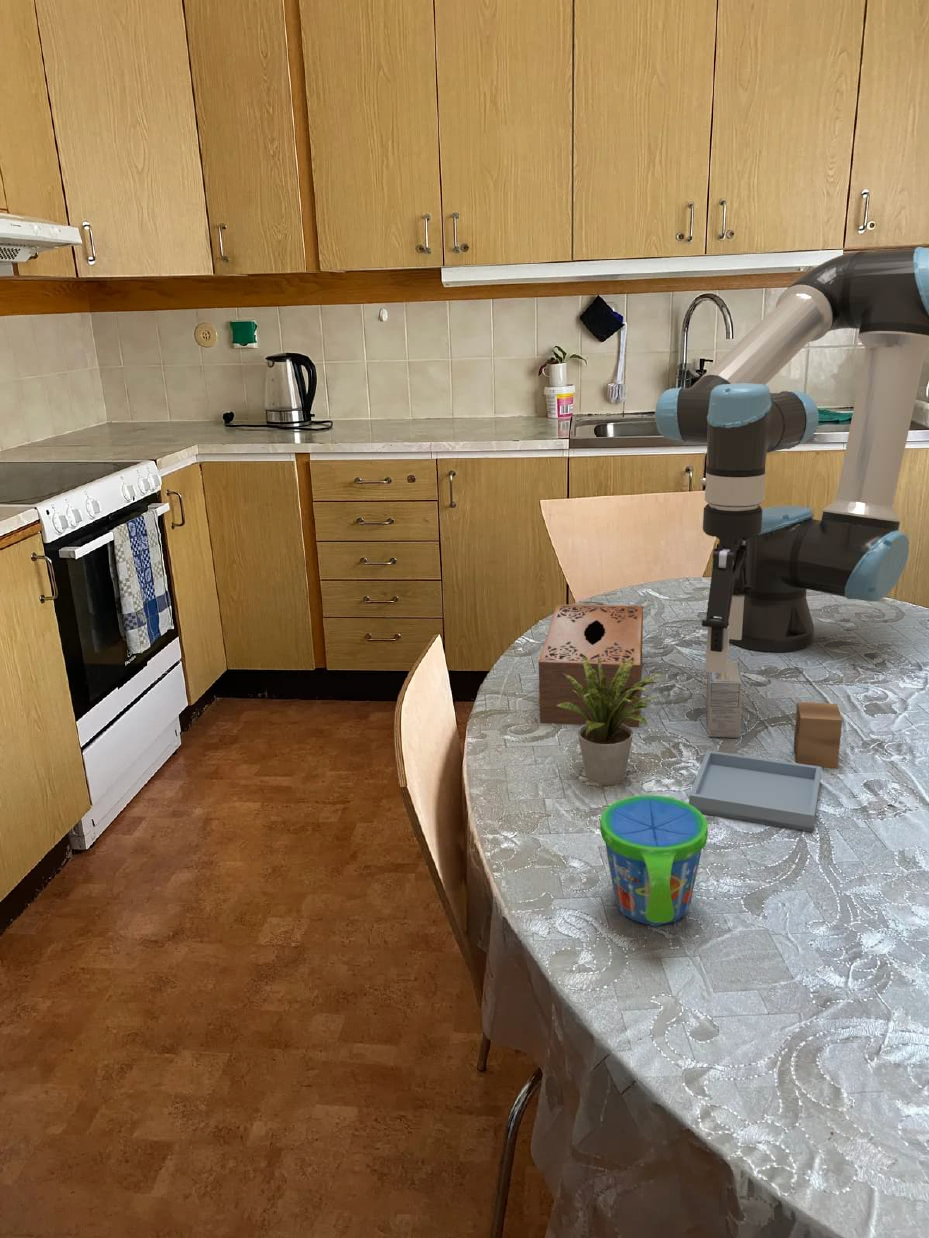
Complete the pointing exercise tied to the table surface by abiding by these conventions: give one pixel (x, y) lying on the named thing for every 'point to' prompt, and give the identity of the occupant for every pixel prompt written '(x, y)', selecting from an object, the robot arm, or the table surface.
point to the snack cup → (653, 855)
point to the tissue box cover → (587, 656)
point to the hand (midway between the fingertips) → (724, 654)
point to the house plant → (607, 722)
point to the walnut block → (817, 734)
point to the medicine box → (724, 702)
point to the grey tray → (757, 790)
